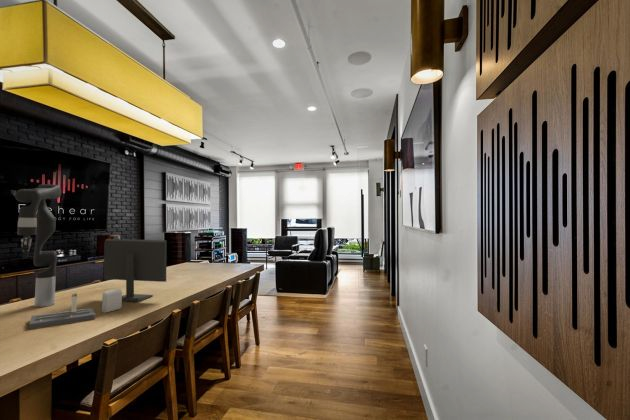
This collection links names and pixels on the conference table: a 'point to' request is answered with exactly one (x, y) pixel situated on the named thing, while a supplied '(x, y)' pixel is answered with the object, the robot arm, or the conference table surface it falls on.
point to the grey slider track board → (61, 318)
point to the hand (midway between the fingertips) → (25, 258)
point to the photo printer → (111, 300)
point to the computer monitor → (135, 263)
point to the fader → (74, 303)
